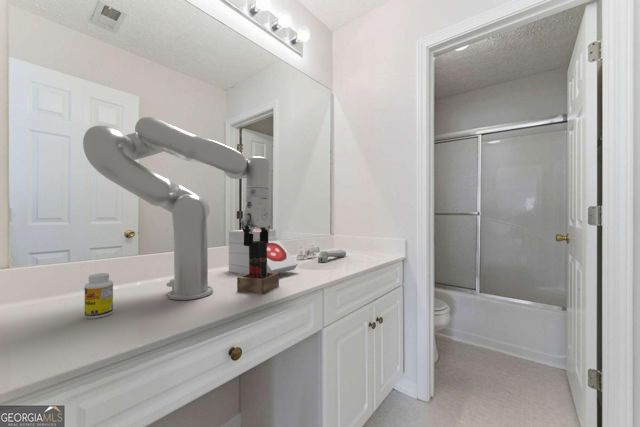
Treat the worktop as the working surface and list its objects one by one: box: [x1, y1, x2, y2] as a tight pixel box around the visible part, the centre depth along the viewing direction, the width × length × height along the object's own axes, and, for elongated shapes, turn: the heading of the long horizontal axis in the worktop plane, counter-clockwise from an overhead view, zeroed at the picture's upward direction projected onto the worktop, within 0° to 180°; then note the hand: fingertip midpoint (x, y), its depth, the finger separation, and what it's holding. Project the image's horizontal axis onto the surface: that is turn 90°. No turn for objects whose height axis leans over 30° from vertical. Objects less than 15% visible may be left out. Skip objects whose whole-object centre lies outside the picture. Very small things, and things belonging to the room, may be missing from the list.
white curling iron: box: [316, 249, 347, 263], centre depth 149 cm, size 5×7×25 cm
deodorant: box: [249, 241, 267, 279], centre depth 91 cm, size 6×6×15 cm
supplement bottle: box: [84, 272, 114, 320], centre depth 68 cm, size 6×6×10 cm
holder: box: [236, 272, 280, 295], centre depth 91 cm, size 10×10×4 cm
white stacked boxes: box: [228, 228, 299, 275], centre depth 118 cm, size 19×30×18 cm, turn 52°
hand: (256, 244), depth 91 cm, fingers open, 9 cm apart
